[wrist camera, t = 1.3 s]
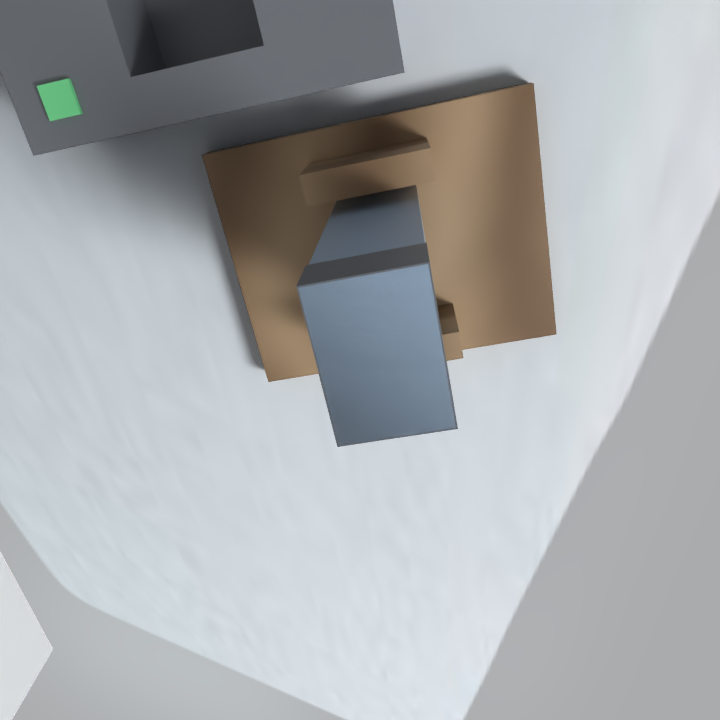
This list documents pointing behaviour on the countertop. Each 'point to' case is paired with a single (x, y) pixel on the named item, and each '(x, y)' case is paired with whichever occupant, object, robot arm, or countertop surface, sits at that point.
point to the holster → (437, 205)
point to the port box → (179, 59)
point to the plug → (377, 321)
